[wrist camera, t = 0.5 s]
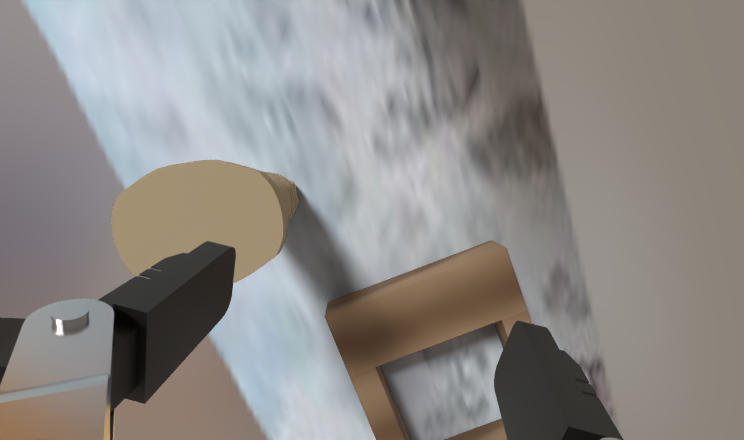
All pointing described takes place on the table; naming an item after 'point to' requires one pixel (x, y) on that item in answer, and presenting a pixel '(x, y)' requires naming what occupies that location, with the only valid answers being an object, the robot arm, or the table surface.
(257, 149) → the table surface
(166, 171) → the handle
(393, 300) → the wooden rectangular frame
